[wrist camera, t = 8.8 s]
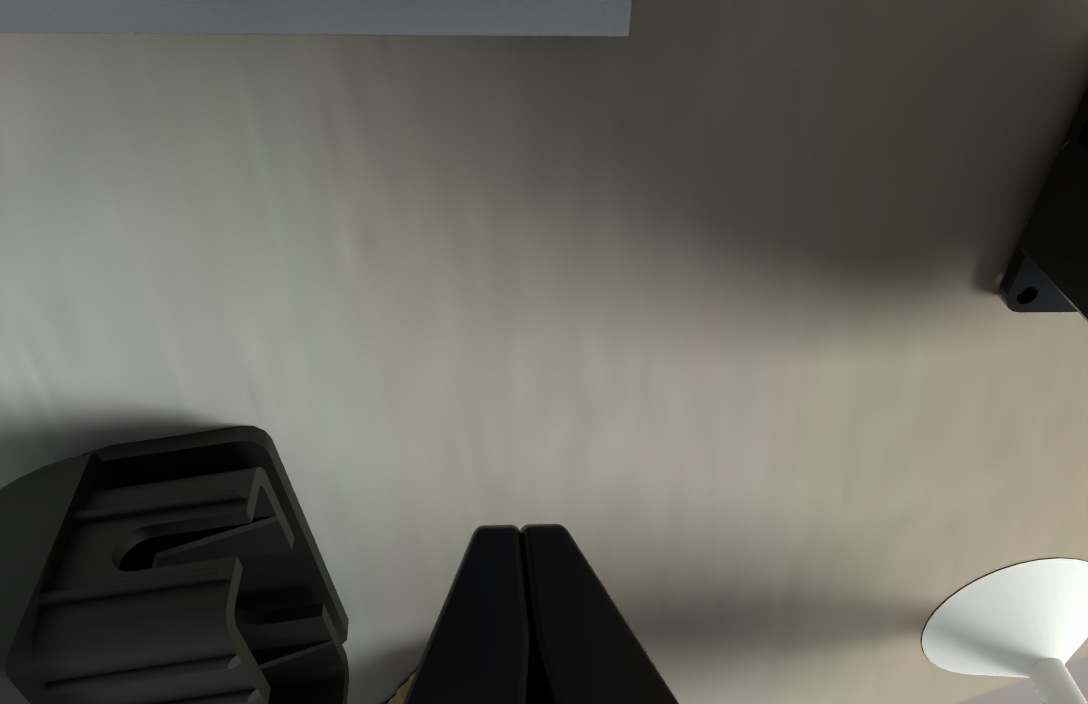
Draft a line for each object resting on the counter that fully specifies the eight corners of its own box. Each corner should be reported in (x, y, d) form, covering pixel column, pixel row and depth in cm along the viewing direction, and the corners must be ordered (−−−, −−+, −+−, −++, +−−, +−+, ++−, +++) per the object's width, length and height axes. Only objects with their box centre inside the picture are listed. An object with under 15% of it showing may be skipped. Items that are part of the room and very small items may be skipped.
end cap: (-20, 447, 23) (-157, 693, 18) (260, 405, 23) (207, 639, 18) (137, 668, 29) (70, 898, 24) (356, 636, 29) (339, 859, 24)
